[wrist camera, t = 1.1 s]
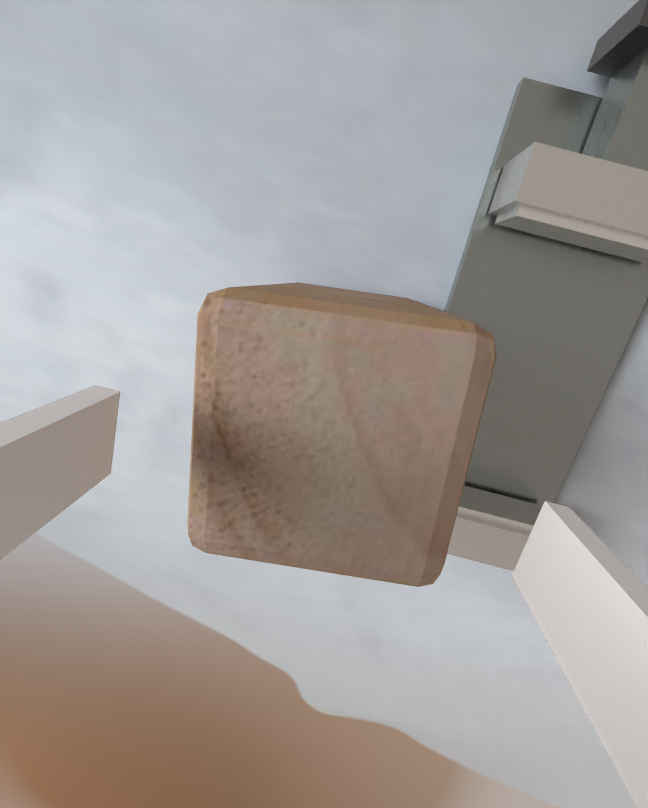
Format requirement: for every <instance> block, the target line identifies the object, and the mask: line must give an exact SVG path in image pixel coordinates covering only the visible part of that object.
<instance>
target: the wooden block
mask: <svg viewBox="0 0 648 808" xmlns="http://www.w3.org/2000/svg"><path fill="white" fill-rule="evenodd" d="M496 358H497V356H496V350H495V344H494V337H493V334H491V333H490V332H488V331H487V330H485V329H483V328H482V327H480V326H479V325H477V324H475V323H474V322H471V321H468V320H466V319H463V318H460V317H457V316H455V315H452V314H449V313H447V312H444V311H441V310H438V309H436V308H433V307H430V306H427V305H425V304H422V303H419V302H416V301H414V300H411V299H408V298H402V297H395V296H388V295H381V294H374V293H367V292H360V291H353V290H346V289H339V288H332V287H325V286H317V285H310V284H303V283H288V284H273V285H259V286H244V287H230V288H226V289H222V290H219V291H215V292H212V293H208V294H207V296H206V298H205V300H204V302H203V304H202V306H201V308H200V310H199V313H198V320H197V341H196V361H195V381H194V402H193V422H192V442H191V462H190V483H189V503H188V535H189V538H190V540H191V543H192V546H194V547H196V548H198V549H200V550H201V551H203V552H205V553H210V554H216V555H222V556H229V557H235V558H241V559H247V560H254V561H260V562H266V563H272V564H279V565H285V566H291V567H297V568H304V569H310V570H316V571H323V572H329V573H335V574H341V575H348V576H354V577H360V578H366V579H373V580H379V581H385V582H391V583H398V584H404V585H410V586H416V587H418V586H424V585H429V584H433V583H434V582H435V580H436V579H437V578H438V576H439V575H440V574H441V571H442V568H443V566H444V563H445V559H446V555H447V551H448V547H449V543H450V539H451V535H452V531H453V527H454V523H455V520H456V516H457V512H458V508H459V504H460V500H461V496H462V492H463V488H464V484H465V480H466V476H467V472H468V468H469V464H470V460H471V456H472V452H473V448H474V445H475V441H476V437H477V433H478V429H479V425H480V421H481V417H482V413H483V409H484V405H485V401H486V397H487V393H488V389H489V385H490V381H491V377H492V374H493V370H494V366H495V362H496Z"/></svg>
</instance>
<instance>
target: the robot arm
mask: <svg viewBox="0 0 648 808" xmlns="http://www.w3.org/2000/svg"><path fill="white" fill-rule="evenodd" d="M119 398H120V392H119V391H115V390H112V389H108V388H104V387H100V386H96V385H95V386H92V387H90V388H87V389H85V390H82V391H80V392H77V393H75V394H72V395H69V396H67V397H64V398H62V399H59V400H57V401H54V402H52V403H49V404H47V405H44V406H42V407H39V408H36V409H34V410H31V411H29V412H26V413H24V414H21V415H19V416H16V417H14V418H11V419H9V420H6V421H4V422H1V423H0V560H1V559H2V558H3V557H5V556H6V555H7V554H8V553H10V552H11V551H12V550H13V549H15V548H16V547H17V546H19V544H21V543H22V542H24V541H25V540H26V539H28V538H29V537H30V536H31V535H33V534H34V533H35V532H36V531H38V530H39V529H40V528H42V527H43V526H44V525H45V524H47V523H48V522H49V521H51V520H52V519H53V518H54V517H56V516H57V515H58V514H59V513H61V512H62V511H63V510H65V509H66V508H67V507H68V506H70V505H71V504H72V503H74V502H75V501H76V500H77V499H79V498H80V497H81V496H83V495H84V494H85V493H86V492H88V491H89V490H90V489H91V488H93V487H94V486H95V485H97V484H98V483H99V482H100V481H102V480H103V479H104V478H106V477H107V476H108V475H109V474H111V467H112V458H113V449H114V441H115V432H116V424H117V415H118V406H119ZM512 578H513V580H514V581H515V583H516V585H517V587H518V589H519V591H520V593H521V594H522V596H523V598H524V600H525V602H526V604H527V605H528V607H529V609H530V611H531V613H532V615H533V617H534V618H535V620H536V622H537V624H538V626H539V628H540V629H541V631H542V633H543V635H544V637H545V639H546V641H547V642H548V644H549V646H550V648H551V650H552V652H553V654H554V655H555V657H556V659H557V661H558V663H559V665H560V666H561V668H562V670H563V672H564V674H565V676H566V678H567V679H568V681H569V683H570V685H571V687H572V689H573V690H574V692H575V694H576V696H577V698H578V700H579V702H580V703H581V705H582V707H583V709H584V711H585V713H586V714H587V716H588V718H589V720H590V722H591V724H592V726H593V727H594V729H595V731H596V733H597V735H598V737H599V738H600V740H601V742H602V744H603V746H604V748H605V750H606V751H607V753H608V755H609V757H610V759H611V761H612V762H613V764H614V766H615V768H616V770H617V772H618V774H619V775H620V777H621V779H622V781H623V783H624V785H625V787H626V788H627V790H628V792H629V794H630V796H631V798H632V799H633V801H634V803H635V805H636V807H637V808H648V588H647V587H646V586H645V585H644V584H643V583H642V582H641V581H640V579H639V578H638V577H637V576H636V575H635V574H634V573H633V572H632V571H631V570H630V569H629V568H628V567H627V566H626V565H625V564H624V563H623V562H622V561H621V560H620V559H619V558H618V557H617V556H616V555H615V554H614V553H613V552H612V551H611V550H610V548H609V547H608V546H607V545H606V544H605V543H604V542H603V541H602V540H601V539H600V538H599V537H598V536H597V535H596V534H595V533H594V532H593V531H592V530H591V529H590V528H589V527H588V526H587V525H586V524H585V523H584V522H583V521H582V520H581V518H580V517H579V516H578V515H577V514H576V513H575V512H574V511H573V510H572V509H571V508H570V507H567V506H563V505H559V504H555V503H551V502H547V501H545V502H544V504H543V506H542V508H541V511H540V513H539V515H538V517H537V520H536V522H535V524H534V527H533V529H532V531H531V533H530V536H529V538H528V540H527V542H526V545H525V547H524V549H523V552H522V554H521V556H520V558H519V561H518V563H517V565H516V567H515V570H514V572H513V574H512Z"/></svg>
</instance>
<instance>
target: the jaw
mask: <svg viewBox="0 0 648 808" xmlns="http://www.w3.org/2000/svg"><path fill="white" fill-rule="evenodd" d="M587 71H589V72H592V73H596V74H600V75H604V76H608V77H610V80H609V83H608V85H607V88H606V91H605V93H604V96H603V99H602V101H601V104H600V107H599V109H598V112H597V115H596V117H595V120H594V123H593V125H592V128H591V131H590V133H589V136H588V139H587V141H586V144H585V147H584V149H583V152H582V154H580V153H576V152H572V151H569V150H565V149H561V148H557V147H553V146H549V145H546V144H542V143H538V142H534V143H533V144H532V145H530V146H529V147H528V148H526V149H525V150H524V151H522V152H521V153H520V154H518V155H517V156H516V157H514V158H513V159H512V160H511V161H509V162H508V163H507V164H505V165H504V168H503V171H502V174H501V177H500V180H499V183H498V186H497V189H496V192H495V195H494V198H493V201H492V204H491V207H490V210H489V213H488V214H491V215H495V216H497V218H496V221H495V224H496V225H500V226H504V227H508V228H512V229H516V230H519V231H523V232H527V233H531V234H535V235H539V236H543V237H546V238H550V239H554V240H558V241H562V242H566V243H570V244H573V245H577V246H581V247H585V248H589V249H593V250H597V251H600V252H604V253H608V254H612V255H616V256H620V257H624V258H627V259H631V260H635V261H639V262H643V263H647V264H648V0H639V1H638V2H637V3H636V4H635V5H634V6H633V7H632V8H631V9H630V10H629V11H628V12H627V13H626V14H625V15H623V16H622V17H621V18H620V19H619V20H618V21H617V22H616V23H615V24H614V25H613V26H612V27H611V28H610V29H609V30H608V31H607V32H606V33H605V34H604V35H603V36H602V37H601V38H600V39H599V40H598V42H597V45H596V47H595V50H594V53H593V56H592V58H591V61H590V64H589V67H588V70H587Z"/></svg>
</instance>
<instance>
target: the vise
mask: <svg viewBox="0 0 648 808" xmlns="http://www.w3.org/2000/svg"><path fill="white" fill-rule="evenodd" d="M602 99H603V98H600V97H596V96H593V95H589V94H585V93H581V92H577V91H573V90H570V89H566V88H562V87H558V86H554V85H550V84H546V83H543V82H539V81H535V80H531V79H527V78H523V79H522V80H521V81H520V83H519V84H518V86H517V89H516V92H515V95H514V98H513V101H512V104H511V107H510V111H509V114H508V117H507V120H506V123H505V126H504V129H503V132H502V135H501V138H500V141H499V145H498V148H497V151H496V154H495V157H494V160H493V163H492V166H491V169H490V172H489V175H488V178H487V182H486V185H485V188H484V191H483V194H482V197H481V200H480V203H479V206H478V209H477V212H476V216H475V219H474V222H473V225H472V228H471V231H470V234H469V237H468V240H467V243H466V246H465V250H464V253H463V256H462V259H461V262H460V265H459V268H458V271H457V274H456V277H455V280H454V284H453V287H452V290H451V293H450V296H449V299H448V302H447V305H446V308H445V311H444V312H447V313H449V314H452V315H455V316H457V317H460V318H463V319H466V320H468V321H471V322H474V323H475V324H477V325H479V326H480V327H482V328H483V329H485V330H487V331H488V332H490V333H491V334H493V337H494V344H495V350H496V356H497V358H496V362H495V366H494V370H493V374H492V377H491V381H490V385H489V389H488V393H487V397H486V401H485V405H484V409H483V413H482V417H481V421H480V425H479V429H478V433H477V437H476V441H475V445H474V448H473V452H472V456H471V460H470V464H469V468H468V472H467V476H466V480H465V484H464V488H463V492H462V496H461V500H460V504H459V508H458V512H457V516H456V520H455V523H454V527H453V531H452V535H451V539H450V543H449V547H448V551H447V554H450V555H454V556H458V557H462V558H466V559H470V560H474V561H478V562H481V563H485V564H489V565H493V566H497V567H501V568H505V569H509V570H513V571H514V570H515V567H516V565H517V563H518V561H519V558H520V556H521V554H522V552H523V549H524V547H525V545H526V542H527V540H528V538H529V536H530V533H531V531H532V529H533V527H534V524H535V522H536V520H537V517H538V515H539V513H540V511H541V508H542V506H543V504H544V502H545V501H547V502H551V503H554V502H555V500H556V497H557V495H558V493H559V491H560V489H561V486H562V484H563V482H564V480H565V478H566V476H567V473H568V471H569V469H570V467H571V465H572V462H573V460H574V458H575V456H576V454H577V451H578V449H579V447H580V445H581V443H582V440H583V438H584V436H585V434H586V432H587V430H588V427H589V425H590V423H591V421H592V419H593V416H594V414H595V412H596V410H597V408H598V405H599V403H600V401H601V399H602V397H603V394H604V392H605V390H606V388H607V386H608V384H609V381H610V379H611V377H612V375H613V373H614V370H615V368H616V366H617V364H618V362H619V359H620V357H621V355H622V353H623V351H624V348H625V346H626V344H627V342H628V340H629V338H630V335H631V333H632V331H633V329H634V327H635V324H636V322H637V320H638V318H639V316H640V313H641V311H642V309H643V307H644V305H645V302H646V300H647V298H648V264H647V263H643V262H639V261H635V260H631V259H627V258H624V257H620V256H616V255H612V254H608V253H604V252H600V251H597V250H593V249H589V248H585V247H581V246H577V245H573V244H570V243H566V242H562V241H558V240H554V239H550V238H546V237H543V236H539V235H535V234H531V233H527V232H523V231H519V230H516V229H512V228H508V227H504V226H500V225H496V224H495V221H496V218H497V216H495V215H491V214H488V213H489V210H490V207H491V204H492V201H493V198H494V195H495V192H496V189H497V186H498V183H499V180H500V177H501V174H502V171H503V168H504V165H505V164H507V163H508V162H509V161H511V160H512V159H513V158H514V157H516V156H517V155H518V154H520V153H521V152H522V151H524V150H525V149H526V148H528V147H529V146H530V145H532V144H533V143H534V142H538V143H542V144H546V145H549V146H553V147H557V148H561V149H565V150H569V151H572V152H576V153H580V154H582V152H583V149H584V147H585V144H586V141H587V139H588V136H589V133H590V131H591V128H592V125H593V123H594V120H595V117H596V115H597V112H598V109H599V107H600V104H601V101H602Z"/></svg>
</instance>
